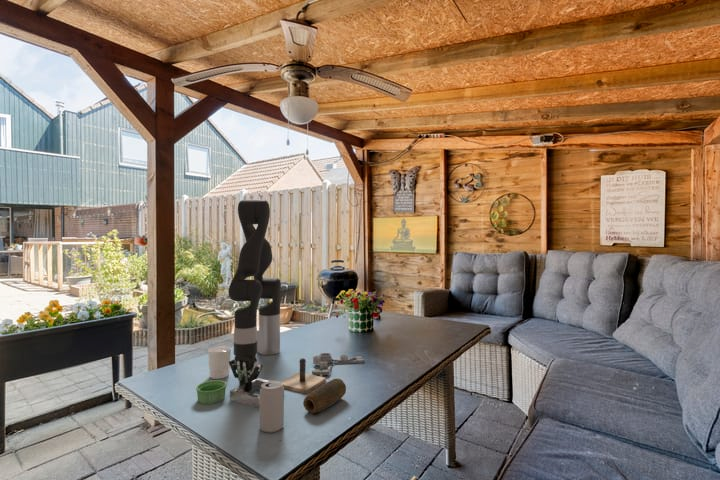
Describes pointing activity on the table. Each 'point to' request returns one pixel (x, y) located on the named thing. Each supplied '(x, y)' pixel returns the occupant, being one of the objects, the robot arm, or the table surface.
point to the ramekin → (211, 391)
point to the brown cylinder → (325, 396)
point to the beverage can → (271, 406)
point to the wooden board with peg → (303, 380)
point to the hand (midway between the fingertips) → (245, 391)
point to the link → (247, 394)
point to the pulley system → (326, 359)
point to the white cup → (219, 361)
